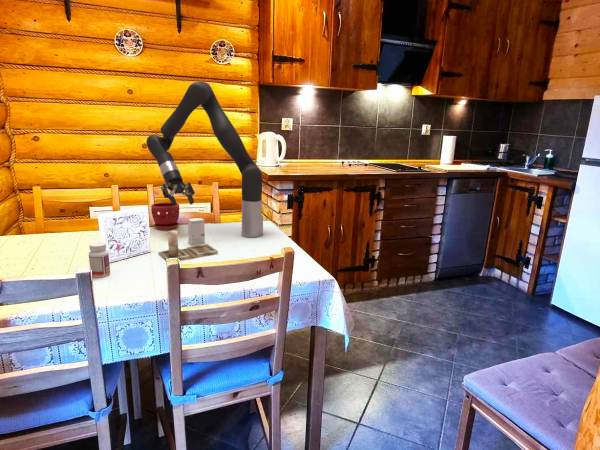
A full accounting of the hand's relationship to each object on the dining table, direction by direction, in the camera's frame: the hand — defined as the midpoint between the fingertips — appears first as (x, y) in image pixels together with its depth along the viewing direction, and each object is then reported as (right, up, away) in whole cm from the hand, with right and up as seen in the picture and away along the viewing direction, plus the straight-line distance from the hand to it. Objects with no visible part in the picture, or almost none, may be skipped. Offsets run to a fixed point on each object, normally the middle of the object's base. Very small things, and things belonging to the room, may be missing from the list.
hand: (183, 204), depth 180 cm
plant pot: (-15, -11, +23) cm, 30 cm away
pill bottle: (-19, -27, -37) cm, 49 cm away
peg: (+2, -21, -20) cm, 29 cm away
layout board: (+6, -22, -16) cm, 28 cm away
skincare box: (+6, -18, -3) cm, 20 cm away
